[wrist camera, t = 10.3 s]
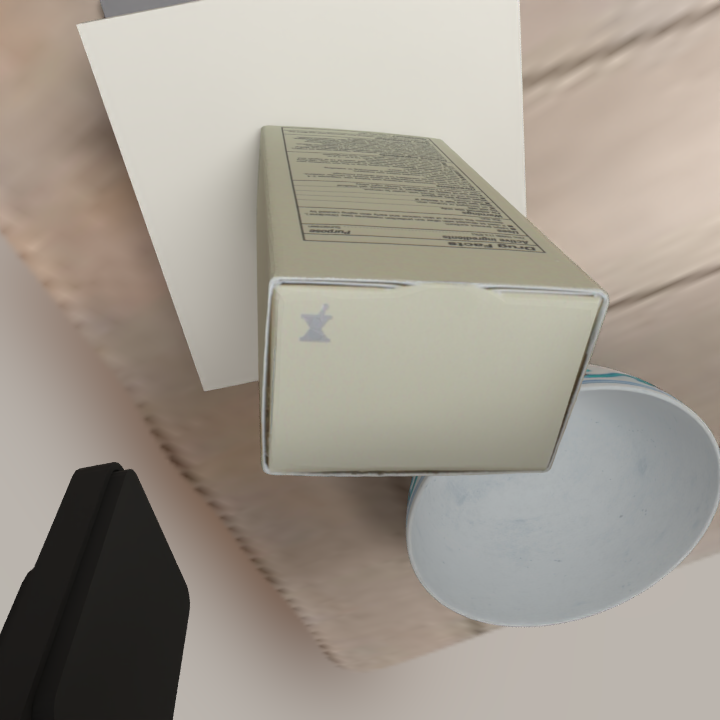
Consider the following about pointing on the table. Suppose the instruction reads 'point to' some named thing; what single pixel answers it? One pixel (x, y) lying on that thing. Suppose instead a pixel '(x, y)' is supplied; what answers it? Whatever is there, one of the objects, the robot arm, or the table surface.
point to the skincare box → (408, 313)
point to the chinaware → (572, 512)
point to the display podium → (286, 121)
